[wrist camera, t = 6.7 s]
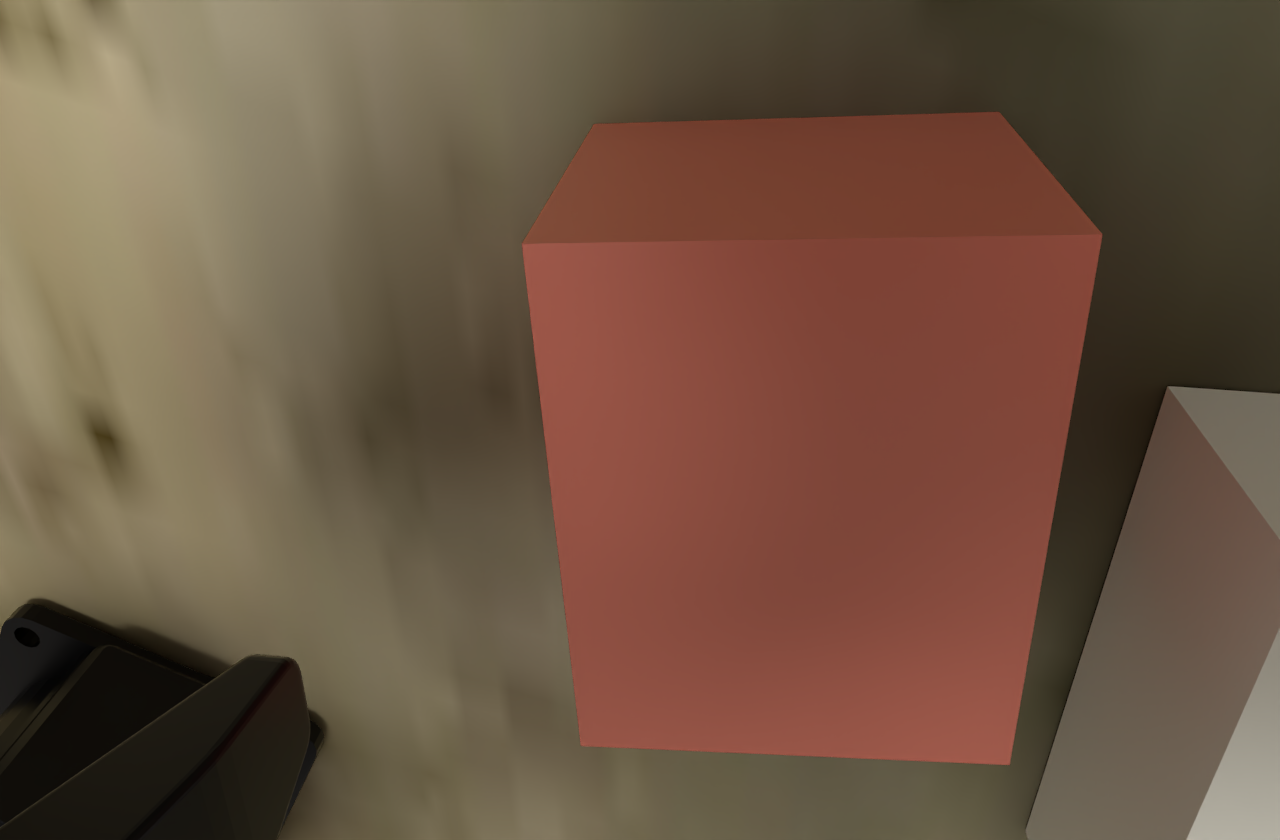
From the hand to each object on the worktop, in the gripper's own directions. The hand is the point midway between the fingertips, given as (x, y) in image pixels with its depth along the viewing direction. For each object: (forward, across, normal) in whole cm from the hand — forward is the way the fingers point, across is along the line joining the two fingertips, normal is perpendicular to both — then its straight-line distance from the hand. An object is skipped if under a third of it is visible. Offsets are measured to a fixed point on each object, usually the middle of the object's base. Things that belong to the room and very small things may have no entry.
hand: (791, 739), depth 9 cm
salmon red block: (+8, 0, 0) cm, 8 cm away
